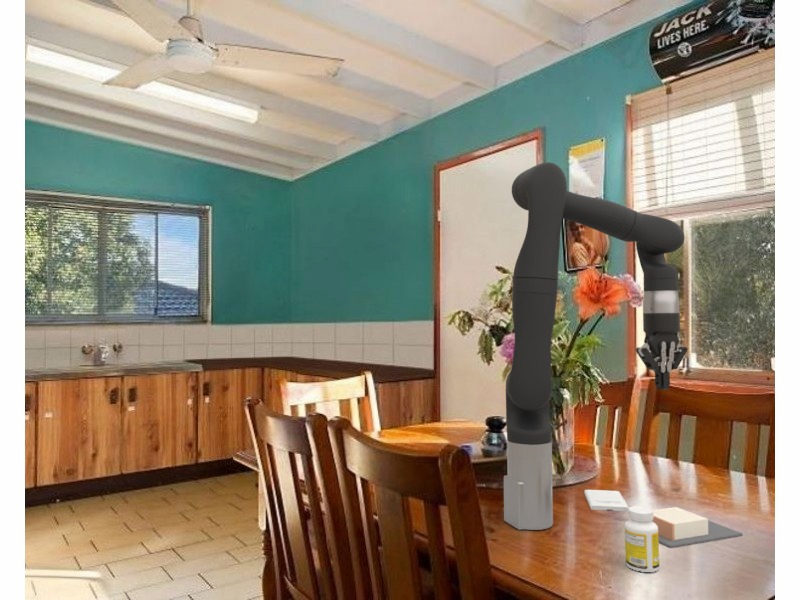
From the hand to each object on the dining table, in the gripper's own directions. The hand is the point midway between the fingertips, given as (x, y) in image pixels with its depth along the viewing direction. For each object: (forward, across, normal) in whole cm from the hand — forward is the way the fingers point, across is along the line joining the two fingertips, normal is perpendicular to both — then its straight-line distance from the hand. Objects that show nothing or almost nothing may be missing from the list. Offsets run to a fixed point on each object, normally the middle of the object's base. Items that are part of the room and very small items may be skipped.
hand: (662, 389), depth 133 cm
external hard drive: (+28, -8, +10) cm, 31 cm away
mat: (+27, -6, -11) cm, 30 cm away
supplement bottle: (+27, -26, -22) cm, 44 cm away
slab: (+25, -4, -11) cm, 28 cm away
